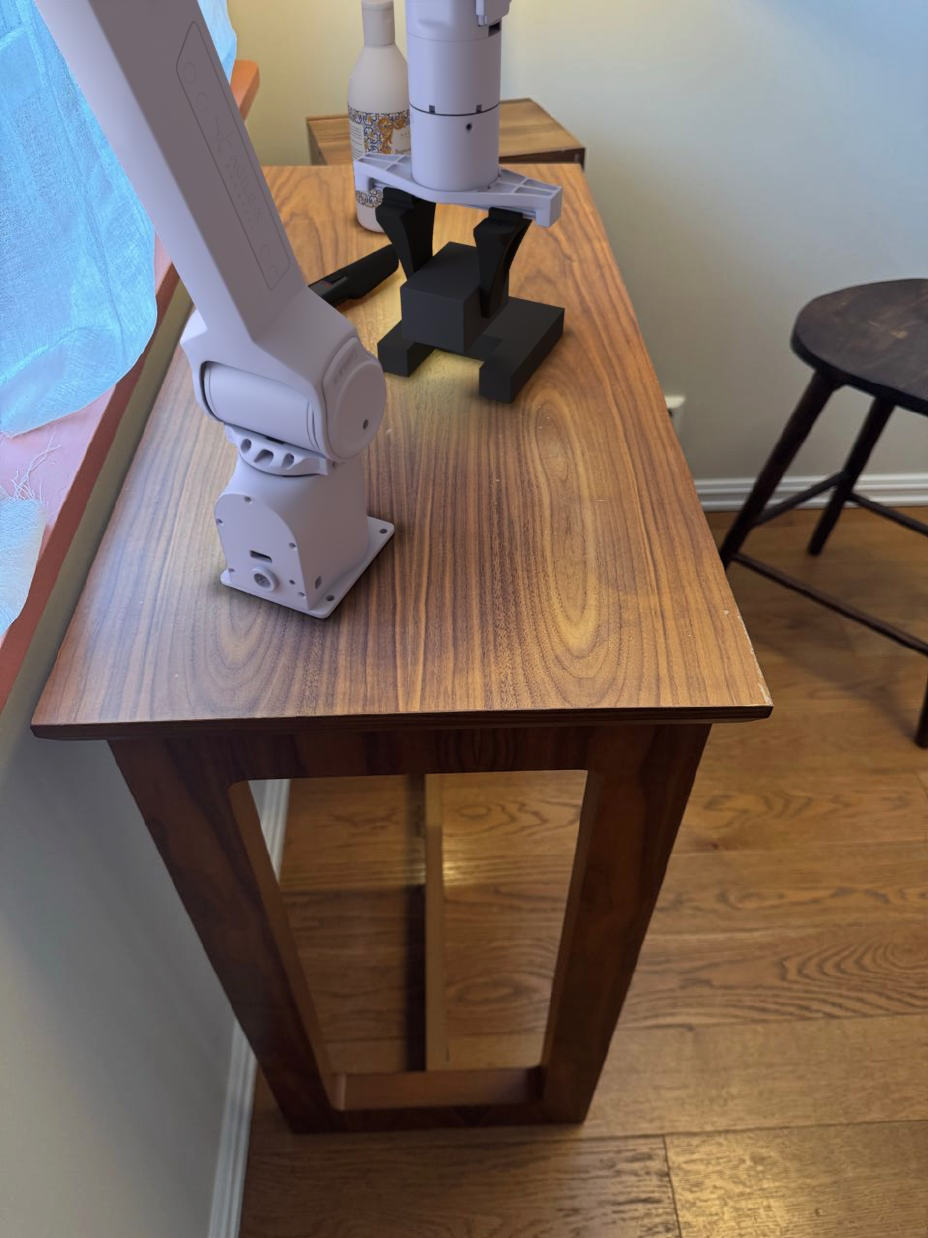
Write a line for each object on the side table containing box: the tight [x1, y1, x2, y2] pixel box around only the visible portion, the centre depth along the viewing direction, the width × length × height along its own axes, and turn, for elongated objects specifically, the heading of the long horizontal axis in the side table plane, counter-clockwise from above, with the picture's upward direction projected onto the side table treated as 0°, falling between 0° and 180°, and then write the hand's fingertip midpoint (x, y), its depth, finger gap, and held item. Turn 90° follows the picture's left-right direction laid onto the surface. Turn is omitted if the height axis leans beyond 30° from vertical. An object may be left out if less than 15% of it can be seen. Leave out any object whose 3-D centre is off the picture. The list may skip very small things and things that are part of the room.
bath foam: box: [346, 0, 411, 234], centre depth 90 cm, size 7×7×20 cm
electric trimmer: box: [307, 243, 400, 309], centre depth 83 cm, size 4×16×3 cm, turn 142°
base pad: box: [376, 295, 566, 404], centre depth 78 cm, size 12×12×2 cm
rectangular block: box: [399, 240, 511, 353], centre depth 67 cm, size 8×5×4 cm, turn 155°
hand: (456, 303), depth 67 cm, fingers closed on rectangular block, 5 cm apart
